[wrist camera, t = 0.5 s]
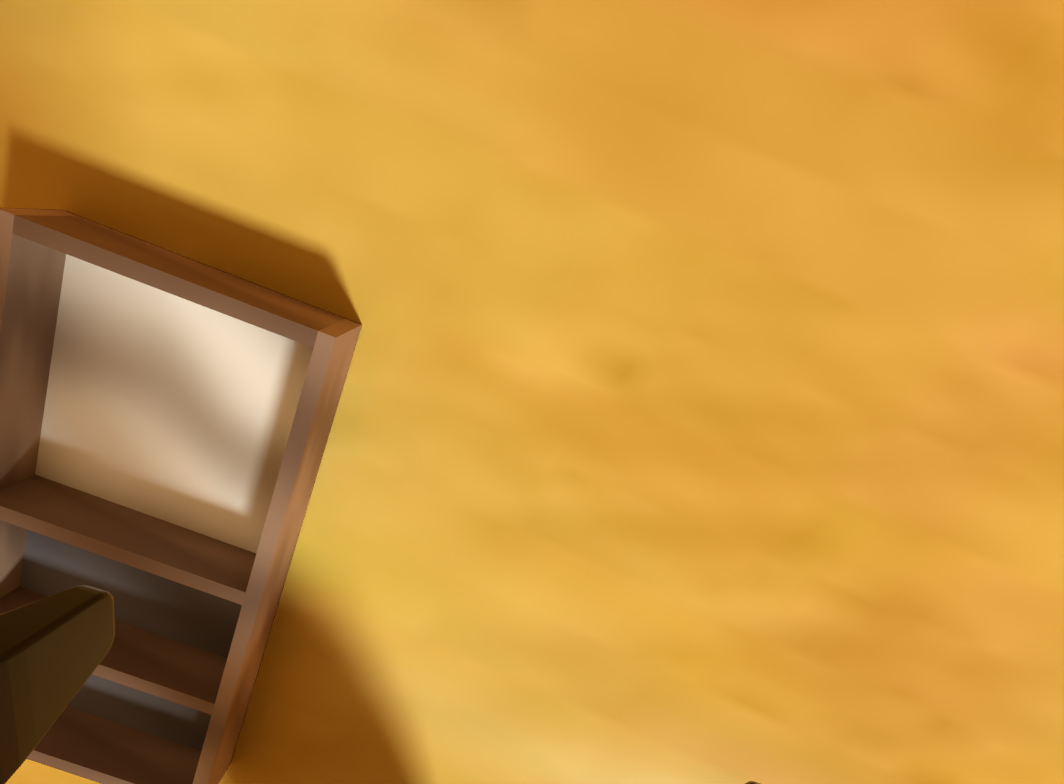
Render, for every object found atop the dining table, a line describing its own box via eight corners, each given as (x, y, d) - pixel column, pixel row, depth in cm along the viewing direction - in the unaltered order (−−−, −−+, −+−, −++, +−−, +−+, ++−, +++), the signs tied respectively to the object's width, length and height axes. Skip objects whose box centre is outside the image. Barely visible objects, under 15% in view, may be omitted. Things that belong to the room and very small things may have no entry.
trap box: (230, 763, 27) (198, 815, 25) (-3, 685, 27) (-59, 730, 24) (361, 325, 21) (336, 337, 19) (62, 209, 21) (-5, 207, 18)
